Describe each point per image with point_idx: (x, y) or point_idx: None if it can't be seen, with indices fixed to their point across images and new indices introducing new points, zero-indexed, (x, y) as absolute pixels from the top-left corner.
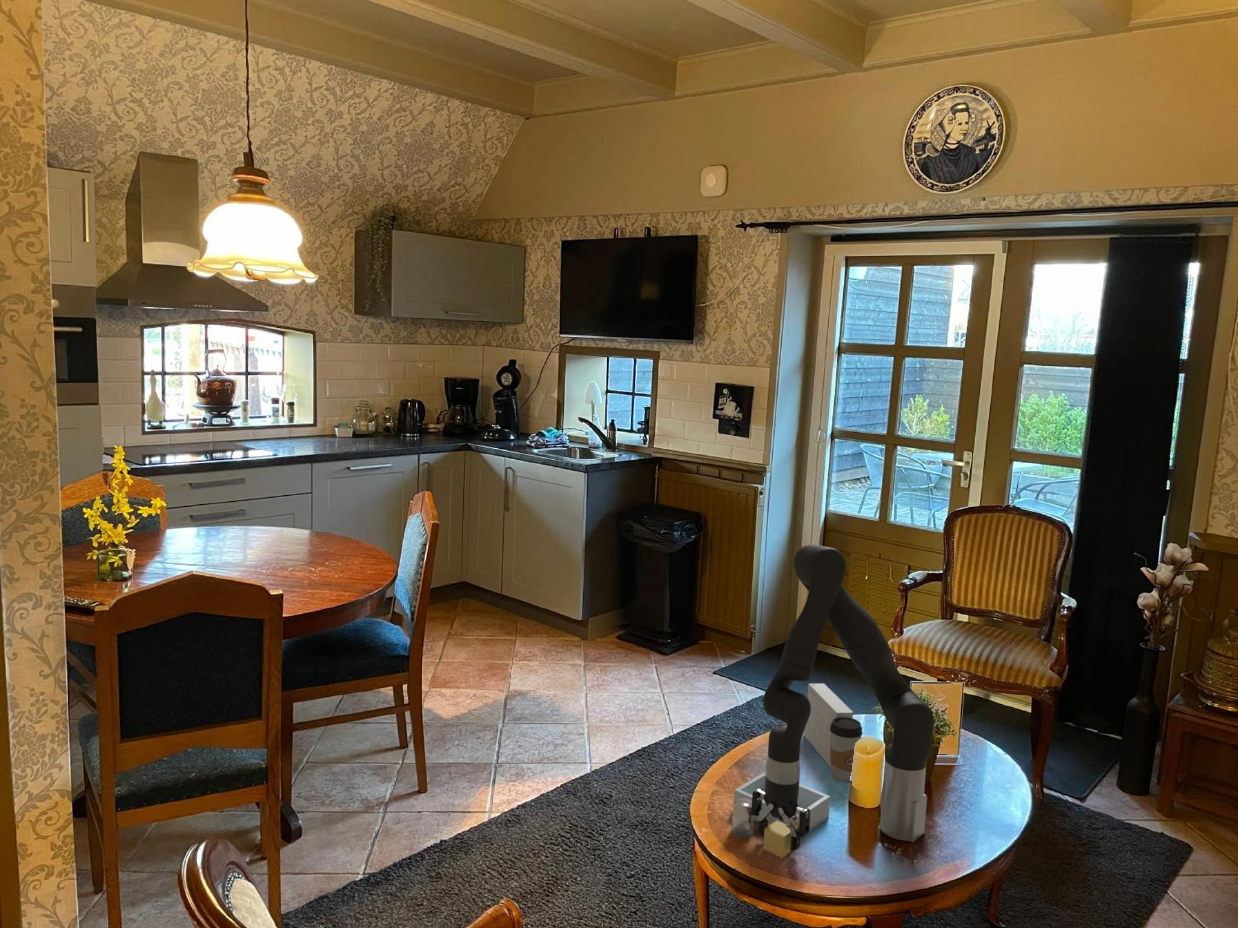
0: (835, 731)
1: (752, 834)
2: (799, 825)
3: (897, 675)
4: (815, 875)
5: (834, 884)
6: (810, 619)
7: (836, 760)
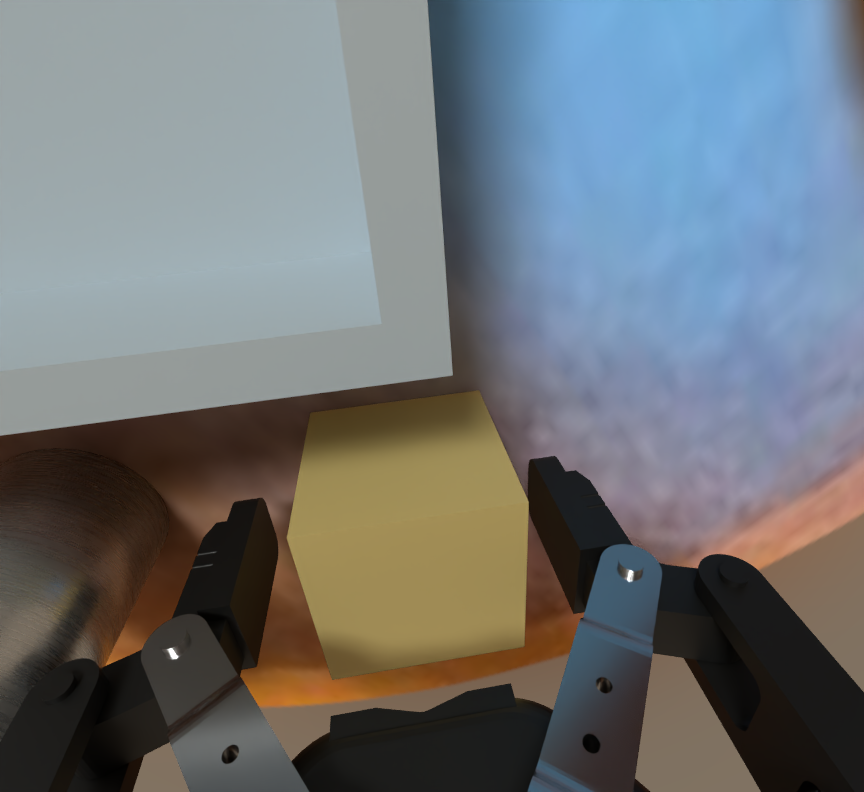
0: None
1: (156, 496)
2: (743, 754)
3: None
4: (717, 492)
5: (832, 473)
6: None
7: None
